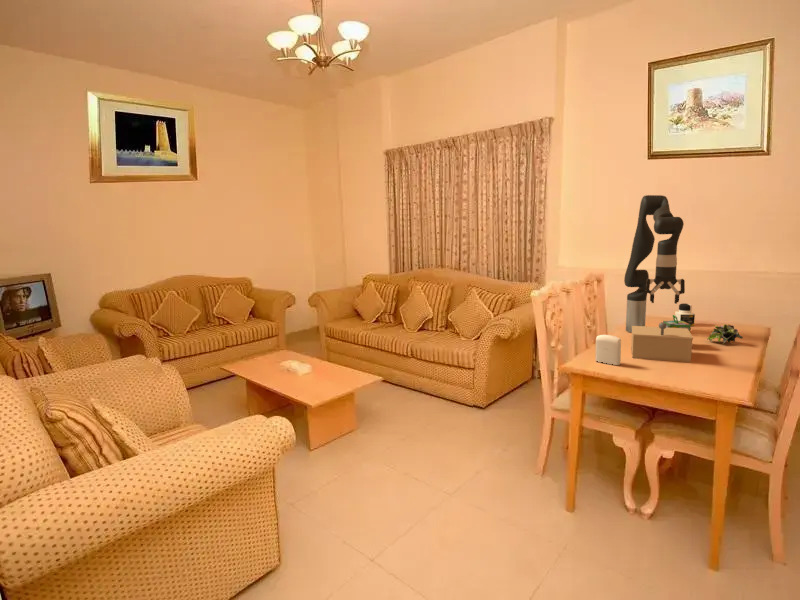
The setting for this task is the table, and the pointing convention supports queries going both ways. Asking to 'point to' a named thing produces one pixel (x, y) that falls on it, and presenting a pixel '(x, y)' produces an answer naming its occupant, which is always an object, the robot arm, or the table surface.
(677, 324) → the chalk box
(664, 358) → the carton
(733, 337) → the green leafy plant
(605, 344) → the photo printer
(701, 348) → the table surface
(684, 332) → the carton flap
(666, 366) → the table surface
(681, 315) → the medicine bottle
